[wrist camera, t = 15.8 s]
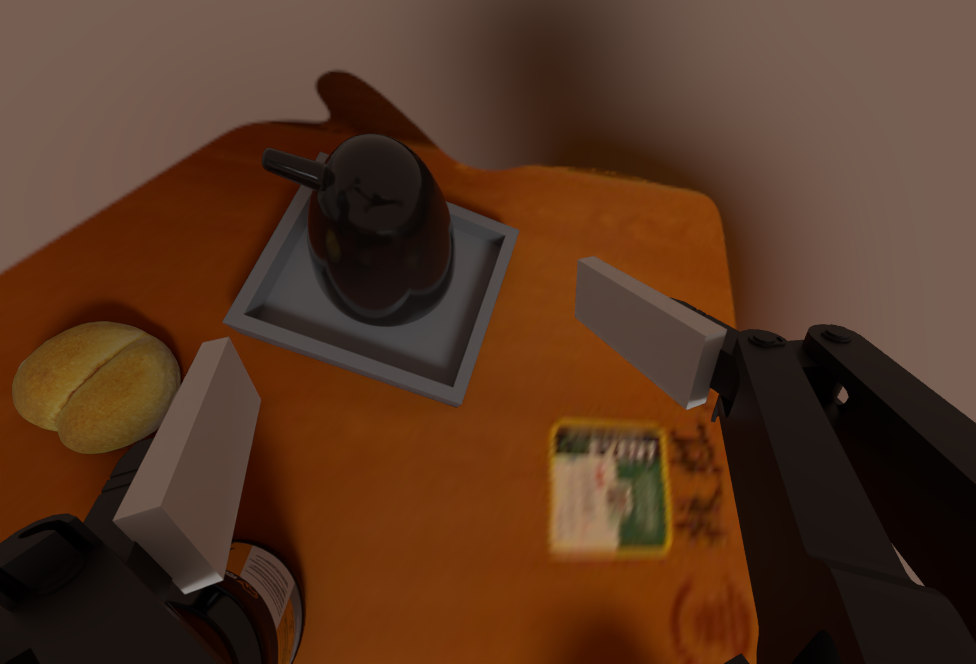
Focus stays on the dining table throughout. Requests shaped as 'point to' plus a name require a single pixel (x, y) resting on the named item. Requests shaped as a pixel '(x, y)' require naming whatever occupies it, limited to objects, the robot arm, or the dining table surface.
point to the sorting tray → (371, 349)
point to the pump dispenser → (375, 229)
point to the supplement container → (248, 607)
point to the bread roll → (98, 386)
